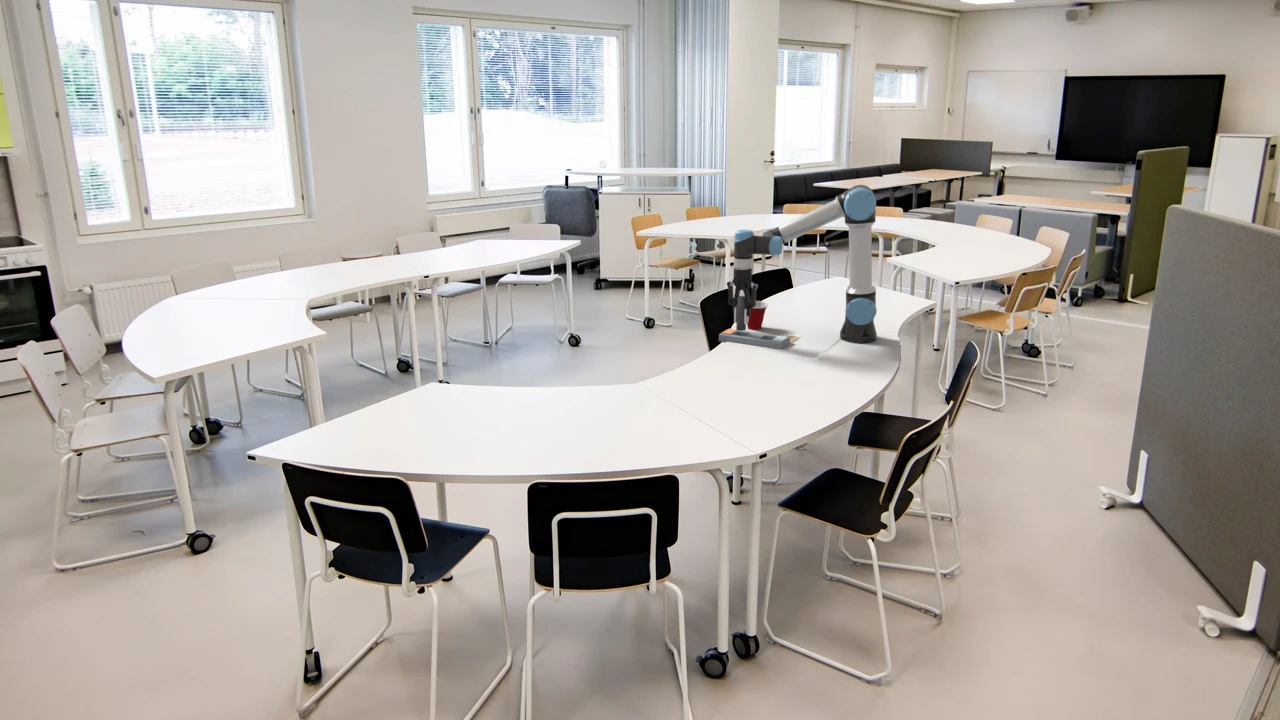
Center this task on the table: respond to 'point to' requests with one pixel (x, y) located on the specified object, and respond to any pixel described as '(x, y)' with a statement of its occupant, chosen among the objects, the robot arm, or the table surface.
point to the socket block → (754, 338)
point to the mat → (792, 338)
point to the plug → (740, 313)
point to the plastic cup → (757, 316)
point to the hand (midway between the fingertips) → (741, 322)
